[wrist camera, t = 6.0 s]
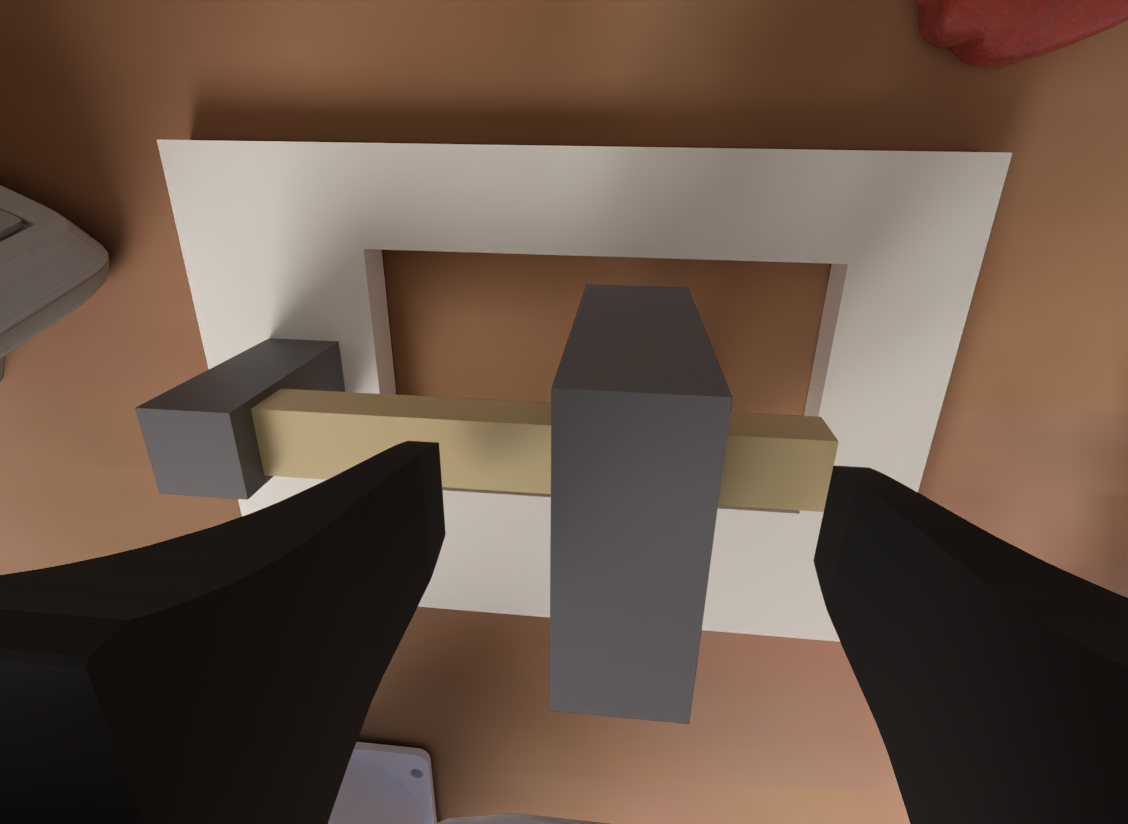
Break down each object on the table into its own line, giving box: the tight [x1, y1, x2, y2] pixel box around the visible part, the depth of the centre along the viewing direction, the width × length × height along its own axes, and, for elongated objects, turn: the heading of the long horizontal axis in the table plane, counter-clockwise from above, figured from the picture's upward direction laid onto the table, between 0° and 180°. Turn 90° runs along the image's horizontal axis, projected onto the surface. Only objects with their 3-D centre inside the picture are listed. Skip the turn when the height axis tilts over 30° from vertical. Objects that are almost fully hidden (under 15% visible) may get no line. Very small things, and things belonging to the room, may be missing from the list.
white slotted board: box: [135, 140, 1012, 642], centre depth 15 cm, size 14×20×6 cm
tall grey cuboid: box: [549, 284, 732, 724], centre depth 13 cm, size 6×2×7 cm, turn 179°
